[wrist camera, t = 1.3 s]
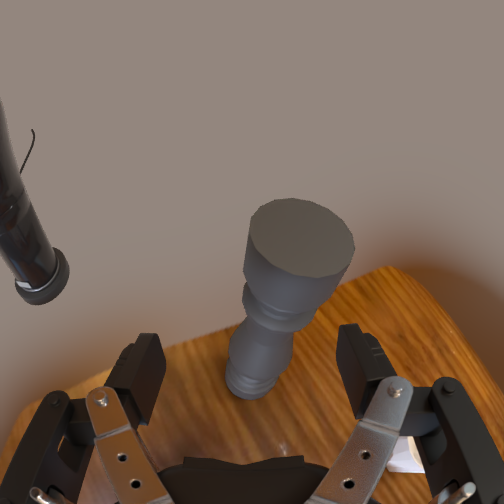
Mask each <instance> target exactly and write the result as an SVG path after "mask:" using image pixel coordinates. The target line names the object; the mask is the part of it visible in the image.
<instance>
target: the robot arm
mask: <svg viewBox="0 0 504 504" xmlns="http://www.w3.org/2000/svg"><path fill="white" fill-rule="evenodd" d="M32 133H33V141H32V145H31V147H30V150H29V152H28V154H27V157H26V159H25V161H24V163H23V165H22V167H21V170H20V172H19V168H18V165H17V161H16V158H15V155H14V152H13V148H12V144H11V140H10V136H9V131H8V126H7V120H6V115H5V111H4V107H3V104H2V101H1V99H0V256H1V257H2V259H3V260H4V262H5V263H6V265H7V266H8V268H9V269H10V271H11V272H12V273H13V275H14V276H15V278H16V279H17V281H16V282H17V284H18V285H19V286H20V287H22V288H23V289H24V290H25V291H27V292H30V293H36V292H40V291H42V290H44V289H46V288H47V287H48V286H50V285H51V284H52V282H53V281H54V280H55V278H56V277H57V275H58V272H59V269H60V262H59V259H58V257H57V255H56V254H55V252H54V250H53V248H52V247H51V244H50V242H49V240H48V238H47V236H46V234H45V232H44V230H43V228H42V226H41V224H40V221H39V219H38V217H37V215H36V212H35V210H34V208H33V206H32V203H31V201H30V199H29V196H28V194H27V191H26V189H25V186H24V183H23V181H22V178H21V172H22V170H23V168H24V165H25V163H26V161H27V158H28V157H29V154H30V152H31V150H32V147H33V144H34V141H35V133H34V131H33V129H32ZM336 361H337V366H338V369H339V372H340V374H341V377H342V380H343V383H344V386H345V389H346V392H347V395H348V398H349V401H350V404H351V407H352V410H353V413H354V416H355V419H361V418H362V420H360V421H359V422H358V424H357V425H356V427H355V429H354V431H353V432H352V434H351V436H350V438H349V439H348V441H347V443H346V444H345V446H344V448H343V449H342V451H341V453H340V454H339V456H338V458H337V459H336V461H335V462H334V464H333V465H332V467H331V468H330V469H328V468H326V467H324V466H321V465H317V464H312V463H305V462H304V456H303V455H301V456H291V457H279V458H271V459H268V460H264V461H260V462H256V463H251V464H247V465H238V464H234V463H229V462H225V461H220V460H216V459H211V458H193V457H184V462H183V464H180V465H176V466H172V467H169V468H166V469H164V470H162V471H160V470H159V468H158V467H157V465H156V463H155V462H154V460H153V458H152V457H151V455H150V453H149V452H148V450H147V448H146V446H145V444H144V442H143V441H142V439H141V437H140V435H139V433H138V431H137V428H138V425H139V424H140V425H147V426H148V424H149V421H150V418H151V414H152V411H153V408H154V405H155V402H156V399H157V396H158V393H159V390H160V387H161V384H162V381H163V378H164V375H165V372H166V360H165V356H164V353H163V350H162V346H161V343H160V339H159V336H158V335H157V334H156V333H140V335H139V336H138V338H137V340H136V342H135V344H133V343H131V344H130V345H128V346H127V347H126V348H125V349H124V350H123V351H122V353H121V355H120V356H119V359H118V360H117V362H116V365H115V366H114V367H113V369H112V371H111V373H110V375H109V377H108V379H107V380H106V382H105V384H104V386H103V387H98V388H95V389H93V390H92V391H91V392H89V394H88V395H87V397H86V398H82V399H70V398H69V396H68V395H67V393H65V392H64V391H59V390H57V391H53V392H50V393H49V394H47V395H46V396H45V397H44V399H43V400H42V402H41V404H40V406H39V407H38V409H37V411H36V413H35V415H34V416H33V418H32V420H31V422H30V424H29V426H28V428H27V430H26V432H25V434H24V435H23V437H22V439H21V441H20V443H19V446H18V448H17V450H16V452H15V454H14V456H13V458H12V460H11V462H10V465H9V467H8V469H7V471H6V474H5V476H4V478H3V481H2V483H1V486H0V504H77V501H78V497H79V493H80V490H81V487H82V483H83V480H84V477H85V473H86V470H87V467H88V464H89V461H90V458H91V455H92V452H93V449H94V446H96V449H97V451H98V454H99V457H100V459H101V462H102V464H103V467H104V469H105V472H106V474H107V477H108V479H109V481H110V483H111V486H112V488H113V490H114V492H115V494H116V496H117V499H118V502H116V503H115V504H381V503H379V502H378V501H376V500H375V499H373V498H371V495H372V493H373V491H374V490H375V488H376V486H377V484H378V482H379V480H380V478H381V476H382V474H383V472H384V470H385V467H386V465H387V463H388V461H389V459H390V457H391V454H392V452H393V450H394V447H395V445H396V442H397V440H398V438H399V436H413V439H414V442H415V445H416V447H417V450H418V453H419V456H420V459H421V462H422V465H423V468H424V471H425V474H426V478H427V481H428V484H429V487H430V491H431V494H432V498H433V499H432V500H431V501H430V502H429V503H428V504H504V462H503V460H502V458H501V456H500V454H499V451H498V449H497V447H496V445H495V443H494V441H493V439H492V437H491V435H490V434H489V432H488V430H487V428H486V426H485V424H484V422H483V420H482V419H481V417H480V415H479V413H478V411H477V410H476V408H475V406H474V404H473V403H472V401H471V399H470V398H469V396H468V394H467V392H466V391H465V389H464V387H463V386H462V384H461V383H460V382H459V381H458V380H456V379H454V378H451V377H441V378H439V379H437V380H436V381H435V382H434V384H433V386H432V387H414V386H412V384H411V383H410V382H409V381H408V380H407V379H405V378H402V377H399V376H397V374H396V372H395V370H394V368H393V367H392V365H391V363H390V361H389V359H388V358H387V356H386V354H385V352H384V350H383V349H382V348H381V345H380V343H379V342H378V340H377V339H376V338H375V337H374V336H372V335H371V334H370V333H362V331H361V329H360V327H359V325H358V324H357V323H354V324H346V325H340V327H339V333H338V341H337V349H336ZM62 436H64V439H63V441H62V444H61V446H60V449H59V451H58V446H59V443H60V441H61V439H62Z"/></svg>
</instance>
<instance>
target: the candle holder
mask: <svg viewBox="0 0 504 504" xmlns="http://www.w3.org/2000/svg"><path fill="white" fill-rule="evenodd" d="M354 251H355V246H354V241H353V236H352V233H351V232H350V230H349V229H348V227H347V226H346V224H345V223H344V221H343V220H342V219H340V218H339V217H338V216H337V215H335V214H334V213H333V212H332V211H330V210H329V209H327V208H325V207H322V206H320V205H318V204H316V203H313V202H311V201H306V200H300V199H295V198H289V199H278V200H274V201H271V202H269V203H267V204H265V205H262V206H260V208H259V209H258V210H257V211H256V212H255V213H254V215H253V216H252V217H251V221H250V228H249V235H248V241H247V247H246V254H245V260H244V268H243V272H244V275H245V278H246V280H247V282H246V283H245V285H244V290H243V297H242V302H243V305H244V308H245V311H246V314H247V317H246V318H245V320H244V321H243V322H242V323H241V324H240V325H239V327H238V328H237V329H236V330H235V332H234V334H233V335H232V337H231V338H230V344H229V351H228V353H229V356H230V357H229V358H228V360H227V365H226V372H225V380H226V384H227V387H228V388H229V389H230V390H231V392H232V393H233V394H234V395H236V396H238V397H240V398H242V399H249V400H254V399H258V398H261V397H263V396H264V395H266V394H267V393H268V392H269V391H270V390H271V389H272V388H273V386H274V385H275V383H276V381H277V379H278V377H279V375H280V374H281V373H282V372H283V371H284V370H286V368H287V367H288V365H289V363H290V361H291V359H292V349H293V333H294V332H296V331H300V330H301V329H302V328H304V327H305V326H306V325H307V324H309V323H310V322H311V321H312V319H313V317H314V315H315V313H316V310H317V308H318V307H319V306H320V305H322V304H323V303H324V302H325V301H326V300H328V299H329V298H330V297H331V295H332V294H333V292H334V290H335V289H336V287H337V285H338V284H339V282H340V280H341V278H342V277H343V275H344V273H345V272H346V270H347V268H348V266H349V265H350V263H351V260H352V257H353V254H354Z"/></svg>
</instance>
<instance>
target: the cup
mask: <svg viewBox="0 0 504 504" xmlns="http://www.w3.org/2000/svg"><path fill="white" fill-rule="evenodd" d="M386 467H387V469H388V470H389V472H410V473H425V471H424V468H423V465H422V462H421V459H420V456H419V453H418V450H417V447H416V445H415V442H414V439H413V436H399V438H398V440H397V442H396V445H395V447H394V450H393V452H392V454H391V457H390V459H389V461H388V463H387V465H386Z"/></svg>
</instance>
